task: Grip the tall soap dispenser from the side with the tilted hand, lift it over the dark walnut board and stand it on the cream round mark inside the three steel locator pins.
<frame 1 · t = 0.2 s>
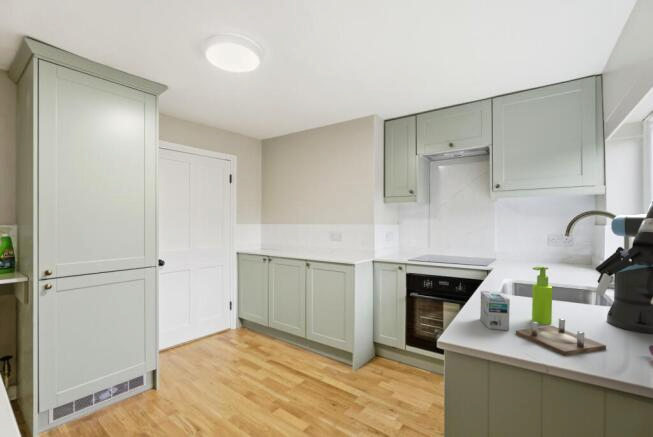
hand: (625, 299, 90), 15 cm above the worktop, tool tilted 35°, fingers open, 13 cm apart
locator board: (558, 341, 97), on the worktop
light bulb box: (493, 325, 111), on the worktop
soap dispenser: (540, 322, 114), on the worktop
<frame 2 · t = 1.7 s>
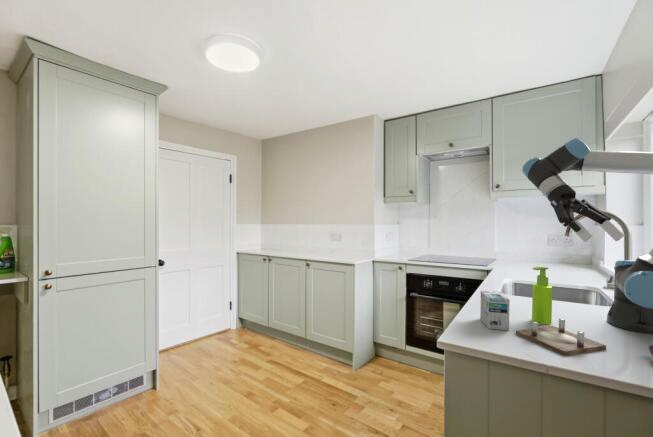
hand: (604, 238, 95), 32 cm above the worktop, tool tilted 45°, fingers open, 13 cm apart
nothing on the worktop moved.
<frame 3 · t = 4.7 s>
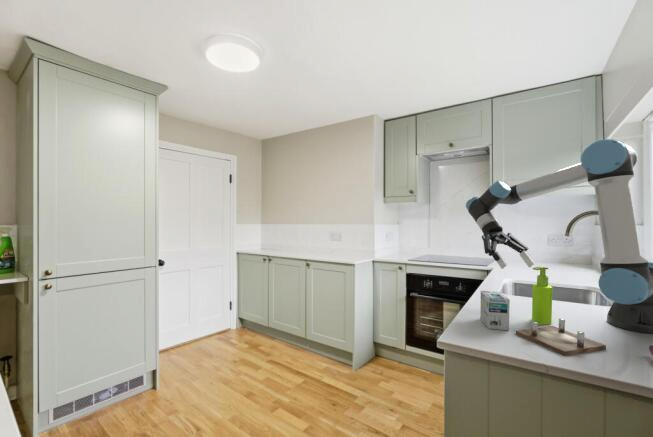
hand: (518, 266, 123), 19 cm above the worktop, tool tilted 45°, fingers open, 13 cm apart
nothing on the worktop moved.
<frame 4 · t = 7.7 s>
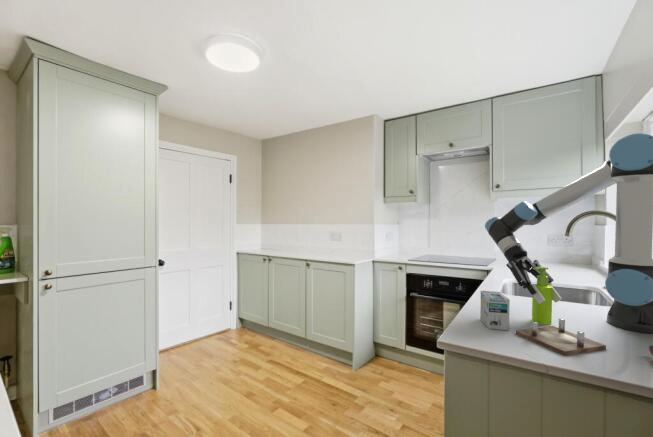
hand: (550, 301, 111), 8 cm above the worktop, tool tilted 45°, fingers open, 7 cm apart
soap dispenser: (540, 322, 114), on the worktop, touching gripper
everything else where it was.
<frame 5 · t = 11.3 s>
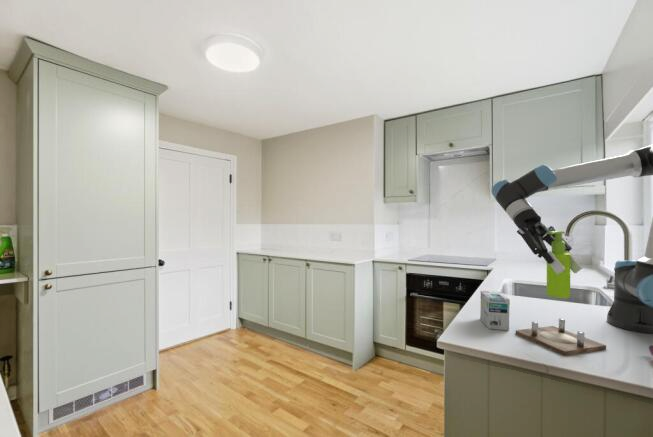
hand: (569, 271, 94), 22 cm above the worktop, tool tilted 45°, fingers closed on soap dispenser, 6 cm apart
soap dispenser: (557, 296, 97), point 14 cm above the worktop, touching gripper
everything else where it was.
when the fingers open (11 cm above the worktop, at t = 14.4 s): soap dispenser drops 1 cm, resting on locator board.
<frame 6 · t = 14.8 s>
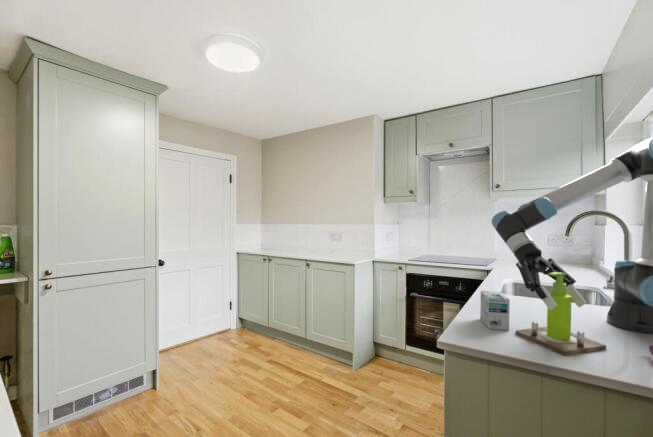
hand: (568, 306, 94), 12 cm above the worktop, tool tilted 45°, fingers open, 11 cm apart
soap dispenser: (557, 337, 97), point 1 cm above the worktop, touching locator board
everything else where it was.
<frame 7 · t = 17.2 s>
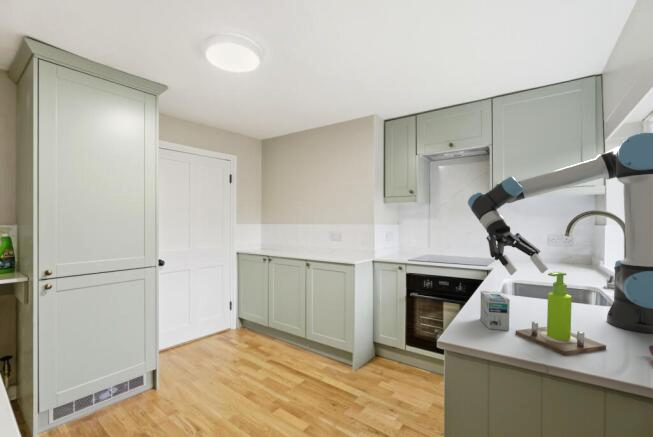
hand: (529, 271, 107), 20 cm above the worktop, tool tilted 45°, fingers open, 13 cm apart
nothing on the worktop moved.
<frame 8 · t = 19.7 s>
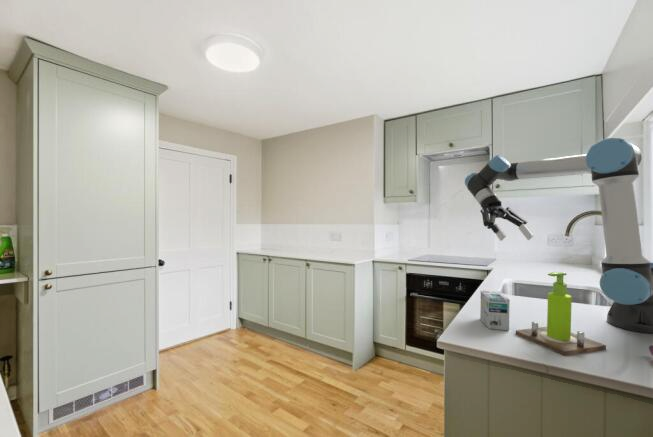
hand: (517, 238, 123), 30 cm above the worktop, tool tilted 45°, fingers open, 13 cm apart
nothing on the worktop moved.
at the end: soap dispenser 0.3 cm off-centre on the locator board, point 1.1 cm above the locator board's base; soap dispenser tilted 0°; the gripper is holding nothing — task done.
